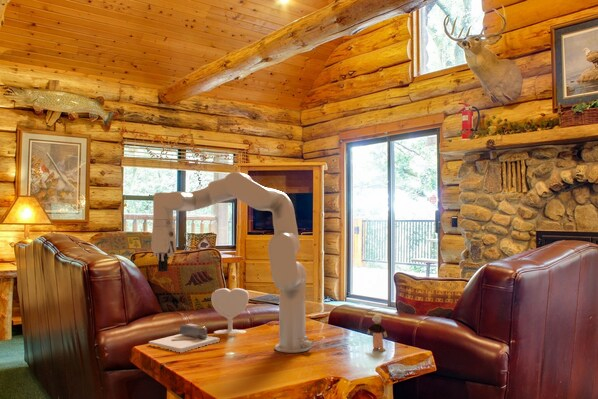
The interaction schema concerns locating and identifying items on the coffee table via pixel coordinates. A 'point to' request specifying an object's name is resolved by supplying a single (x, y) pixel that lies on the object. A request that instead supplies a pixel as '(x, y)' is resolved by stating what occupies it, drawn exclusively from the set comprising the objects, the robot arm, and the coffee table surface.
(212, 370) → the coffee table surface
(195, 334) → the lock bar
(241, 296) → the heart sculpture
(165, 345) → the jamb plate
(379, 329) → the grandmother figurine
